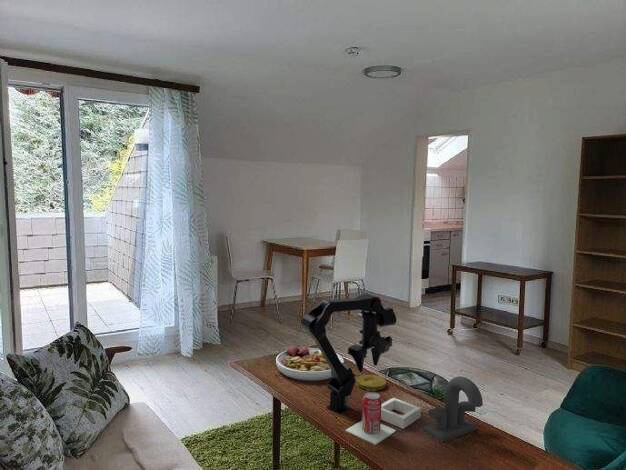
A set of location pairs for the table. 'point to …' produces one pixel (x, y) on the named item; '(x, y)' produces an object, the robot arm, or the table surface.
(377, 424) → the beverage can
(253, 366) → the table surface
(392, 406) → the collar
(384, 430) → the mat
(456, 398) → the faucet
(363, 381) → the gold flat disc
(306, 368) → the bowl
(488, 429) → the table surface
